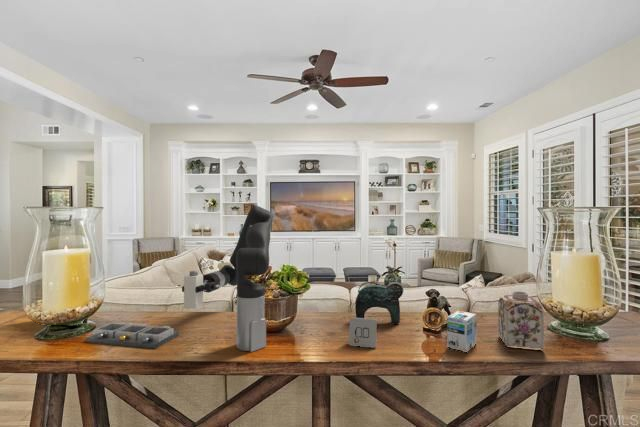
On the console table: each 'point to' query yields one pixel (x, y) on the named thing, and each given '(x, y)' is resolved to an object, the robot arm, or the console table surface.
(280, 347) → the console table surface
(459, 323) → the light bulb box
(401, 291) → the dark green figurine
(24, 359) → the console table surface
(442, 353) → the console table surface
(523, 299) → the decorative jar
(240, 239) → the robot arm
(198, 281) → the white tall block
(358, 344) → the electrical switch
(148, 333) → the breaker board
